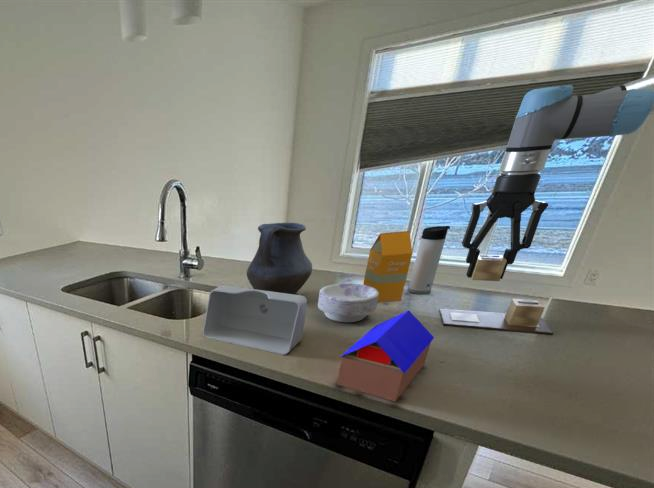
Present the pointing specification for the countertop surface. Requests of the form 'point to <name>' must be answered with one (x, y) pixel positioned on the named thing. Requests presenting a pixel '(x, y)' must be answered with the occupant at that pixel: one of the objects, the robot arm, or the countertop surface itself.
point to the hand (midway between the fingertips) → (483, 276)
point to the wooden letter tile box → (524, 312)
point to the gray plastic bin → (255, 318)
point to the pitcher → (280, 259)
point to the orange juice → (389, 265)
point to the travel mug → (427, 259)
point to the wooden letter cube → (489, 268)
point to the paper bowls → (347, 301)
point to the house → (386, 357)
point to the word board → (488, 321)
